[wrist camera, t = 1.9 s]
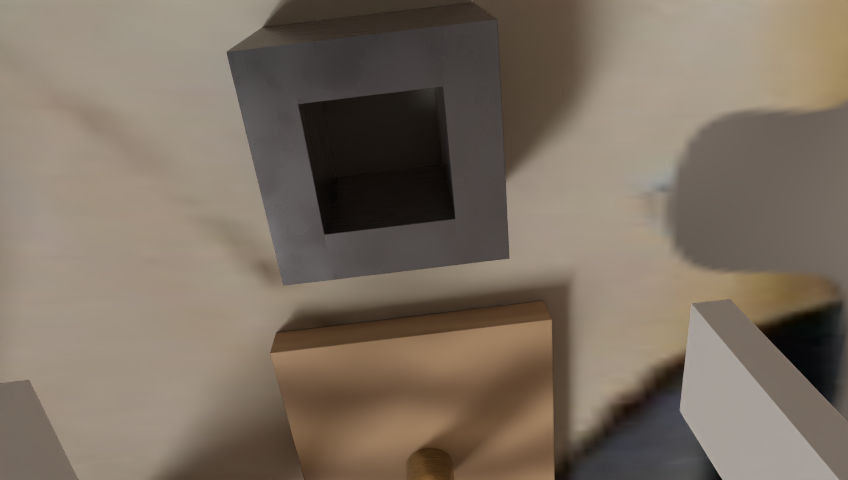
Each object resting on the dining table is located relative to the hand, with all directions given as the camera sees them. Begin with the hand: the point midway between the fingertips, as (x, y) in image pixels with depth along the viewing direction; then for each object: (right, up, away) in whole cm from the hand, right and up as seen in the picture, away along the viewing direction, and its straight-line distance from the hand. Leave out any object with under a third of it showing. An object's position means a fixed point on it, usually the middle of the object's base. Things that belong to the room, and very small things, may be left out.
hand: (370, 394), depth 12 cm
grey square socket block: (-1, +9, +18) cm, 21 cm away
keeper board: (+1, -10, +28) cm, 30 cm away
